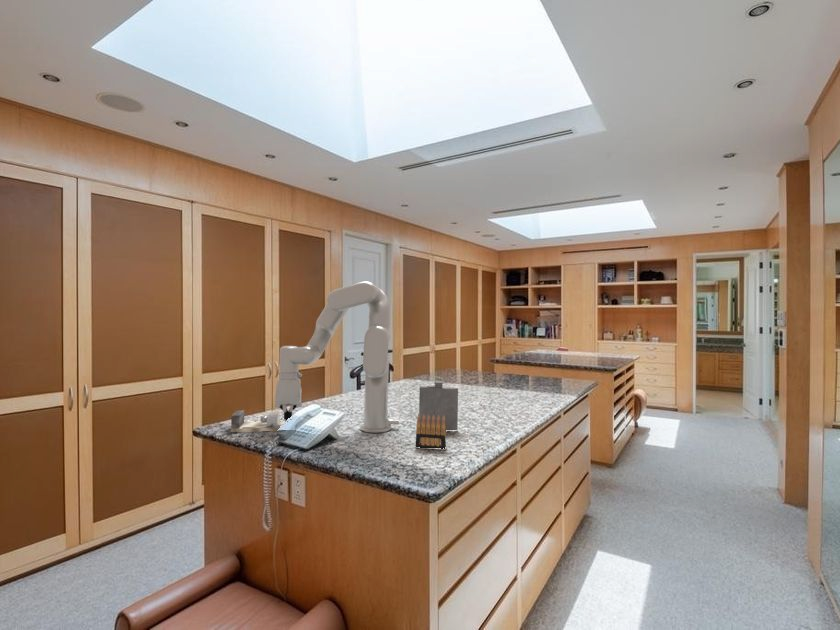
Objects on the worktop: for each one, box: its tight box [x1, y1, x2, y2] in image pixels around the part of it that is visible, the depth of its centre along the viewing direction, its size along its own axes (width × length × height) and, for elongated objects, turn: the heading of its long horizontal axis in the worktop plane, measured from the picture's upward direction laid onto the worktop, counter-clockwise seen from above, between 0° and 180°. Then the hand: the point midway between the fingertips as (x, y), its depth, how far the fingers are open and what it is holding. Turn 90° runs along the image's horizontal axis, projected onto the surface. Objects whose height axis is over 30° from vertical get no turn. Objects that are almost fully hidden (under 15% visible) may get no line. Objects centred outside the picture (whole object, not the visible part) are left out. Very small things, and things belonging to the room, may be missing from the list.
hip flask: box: [418, 381, 459, 431], centre depth 177 cm, size 16×4×20 cm, turn 80°
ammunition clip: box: [414, 413, 447, 449], centre depth 153 cm, size 11×2×12 cm, turn 81°
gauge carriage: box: [260, 411, 281, 427], centre depth 174 cm, size 6×9×4 cm
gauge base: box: [230, 410, 285, 433], centre depth 174 cm, size 20×10×6 cm, turn 101°
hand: (287, 421), depth 176 cm, fingers closed
